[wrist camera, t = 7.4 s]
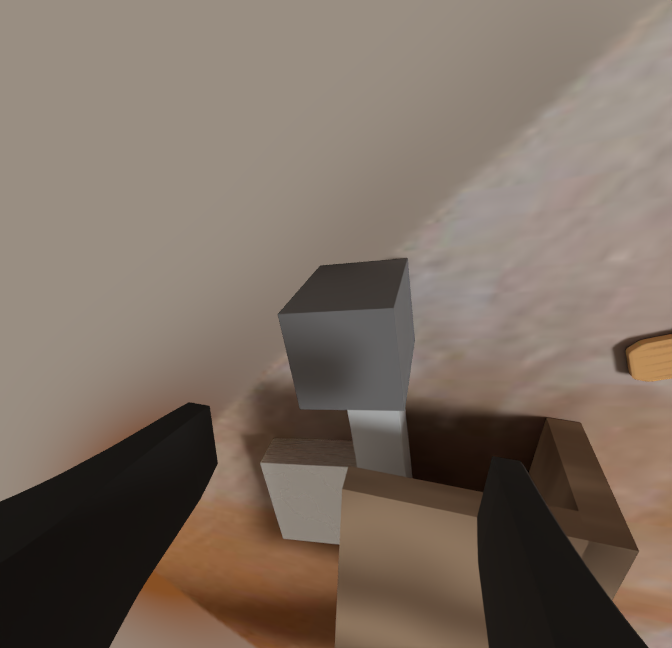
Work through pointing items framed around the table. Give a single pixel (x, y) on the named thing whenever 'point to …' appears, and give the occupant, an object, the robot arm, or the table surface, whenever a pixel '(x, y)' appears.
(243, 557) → the table surface
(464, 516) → the wooden corner piece
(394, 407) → the hammer
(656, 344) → the popsicle
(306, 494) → the block
